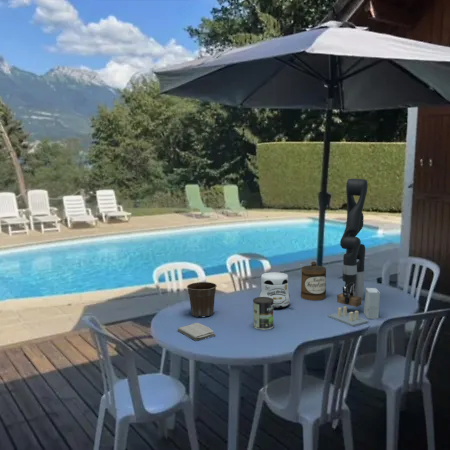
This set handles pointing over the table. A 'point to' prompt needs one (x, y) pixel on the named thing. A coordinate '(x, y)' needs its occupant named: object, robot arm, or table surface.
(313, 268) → the wooden container
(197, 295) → the plant pot
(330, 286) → the table surface
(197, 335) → the washcloth
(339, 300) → the plank
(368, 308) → the skincare box
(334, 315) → the peg stand
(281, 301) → the milk container
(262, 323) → the coffee can
